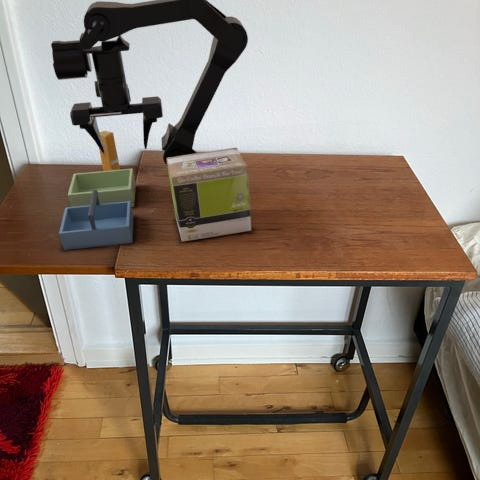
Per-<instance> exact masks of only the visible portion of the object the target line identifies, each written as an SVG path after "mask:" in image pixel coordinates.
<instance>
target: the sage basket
mask: <svg viewBox="0 0 480 480" xmlns="http://www.w3.org/2000/svg"><path fill="white" fill-rule="evenodd" d="M136 187H137V185H136V179H135V173H134V168H123V169H121V168H120V170H110V171H103V170H99V171H90V172H79V173H73V174H72V178H71V181H70V186H69V189H68V193H67V197H68V200H69V205H70V207H75V206H85V205H90V202H91V196H92V191H93V190H97V191H98V198H99V203H100V204H105V203H115V202H124V201H130V202H131V207H132V208H135V202H136V201H135V200H136ZM134 188H135V190H134ZM133 202H134V203H133Z"/></svg>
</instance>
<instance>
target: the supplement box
mask: <svg viewBox="0 0 480 480" xmlns="http://www.w3.org/2000/svg"><path fill="white" fill-rule="evenodd" d="M99 132H100V135H101V138H102V141H103V144H104V150H105V153H102V151H101V150H100V148H99V147H98V151H99V155H100V160H101V165H102V171H110V170H121V167H120V162H119V157H118V151H117V147H116V146H117V145H116V140H115V135H114V132H113V131H107V130H102V131H99Z"/></svg>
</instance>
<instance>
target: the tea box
mask: <svg viewBox="0 0 480 480" xmlns="http://www.w3.org/2000/svg"><path fill="white" fill-rule="evenodd" d="M166 167H167V171H168V179H169V185H170V192H171V198H172V205H173V210H174V216H175V220H176V225H177V228H178V232H179V236H180V239H181V240H180V241H181V242H183V243H184V242H189V241H196V240H201V239H207V238H215V237H221V236H226V235H233V234H238V233H245V232H252V216H251V200H250V198H251V197H250V184H249V169H248V165H247V163H246V162H245V160H244V158H243V156H242V154H241V152H240V151H239V149H238V147H230V148H229V147H228V148H224V149H223V148H222V149H217V150H211V151H202V152H197V153H195V154H189V155H182V156H176V157H168V158H167V165H166Z"/></svg>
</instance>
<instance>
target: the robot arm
mask: <svg viewBox="0 0 480 480" xmlns="http://www.w3.org/2000/svg"><path fill="white" fill-rule="evenodd" d="M189 20H190V21H191V20H195V22H197V23H198V24H200V25H201V26H202V27H203V28H204V29H205V30H206V31H207V32H208V33H209V34H210V35H211V36H212V37H213V38H212V40H211V41H212V42H211V45H210V51H209V55H208V60H207V62H206V64H205V66H204V68H203V70H202V72H201V75H200V77H199V79H198V81H197V84H196V86H195V87H194V90H193V91H192V94H191V96H190V98H189V100H188V102H187V103H186V106H185V108H184V111H183V113H182V114H181V117H180V119H179V120H178V122H177V123H176V124H175V125H173V124H171V123H170V122H169V123H167V127H166V131H165V133H164V134H163V135H162V137H161V150H162V160H163V162H164V164H165V165H166V166H167V158H168V157H176V156H182V155H189V154H195V153H198V152H197V151H196V150H195V149H194V148H193V147H194V143H195V137H196V133H197V131H198V130H199V127H200V125H201V123H202V121H203V119H204V117H205V115H206V113H207V111H208V109H209V107H210V105H211V103H212V101H213V98H214V96H215V95H216V92H217V90H218V88H219V86H220V85H221V82H222V81H223V78H224V76H225V74H226V73H227V71H228V70H229V69H231V67H232V66H233V65H234V64H235V63H236V62H237V61H238V59H239V58H240V57H241V55H242V54H243V52H245V50H246V48H247V46H248V43H249V36H248V32H247V30H246V28H245V26H244V25H243V24H242V22H241V20H239V19H238V18H237V17H235V16H227V15H225V14H224V13H223V12H222V11H221V10H220V9H218V8H217V7H216V6H215V5H213V4H212V3H211V2H209V0H147V1H141V2H135V3H126V2H125V3H124V2H118V1H94V2H92V3H90V5H89V6H88V8H87V9H86V11H85V14H84V16H83V27H84V31H83V32H81V33H80V36H79V39H78V40H77V39H75V40H64V41H63V40H53V41H52V42H51V44H50V47H51V50H52V53H51V54H52V55H51V56H52V61H53V62H52V66H53V71H54V74H55V77H56V79H57V80H58V81H61V80H62V81H63V80H75V79H85V78H88V75H89V73H92V71H93V68H94V72H95V73H94V74H95V78H96V80H95V81H94V89H95V96H96V98H100V101H101V106H94V107H93V105H92V103H91V102H89V101H87V102H78V103H77V102H75V103H73V105H72V106H71V110H70V112H69V113H70V115H69V116H70V121H71V125H72V126H74V127H75V126H78V127H79V129H81V130H85V131H86V133H88V135H89V136H90V137H91V138H92V140H93V141H94V143H95V144H96V146H97V147H98V149H99V148H100V150H101V151H102V153H105V150H104V144H103V141H102V138H101V135H100V132H101V131H100V129H99V126H98V121H97V118H103V117H112V116H125V115H137V114H142V131H143V133H142V134H143V136H142V137H143V148H144V150H147V148H148V142H149V137H150V132H151V129H152V127H153V123H157V122H158V119H161V118H163V117H164V114H163V104H162V99H161V97H159V96H158V95H157V96H147V97H141V98H142V99H141V102H140V103H139V102H138V103H131V102H132V99H131V93H130V88H129V86H128V83H127V78H126V72H125V67H124V61H123V55H122V52H128V51H130V43H129V41H127V40H125V39H124V37H123V36H122V35H124V34H126V33H128V32H131V31H133V30H135V29H140V28H147V27H153V26H158V25H166V24H172V23H179V22H183V21H184V22H185V21H189ZM114 38H116V39H114ZM112 39H114V40H112ZM98 42H101V43H100V45H96V44H97V43H98ZM95 45H96V46H95ZM90 54H91V56H90ZM91 58H92V61H91ZM92 63H93V66H92Z"/></svg>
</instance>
